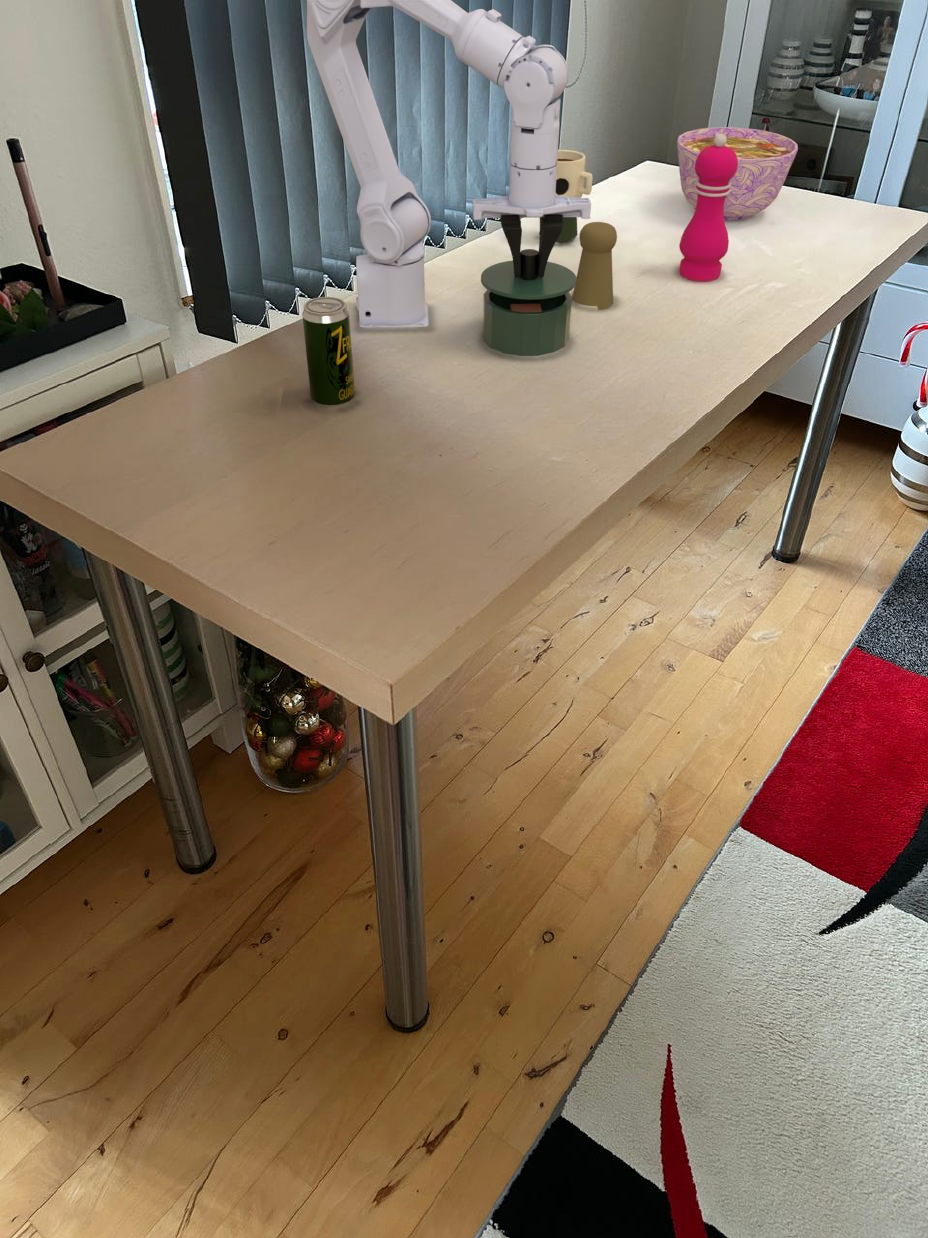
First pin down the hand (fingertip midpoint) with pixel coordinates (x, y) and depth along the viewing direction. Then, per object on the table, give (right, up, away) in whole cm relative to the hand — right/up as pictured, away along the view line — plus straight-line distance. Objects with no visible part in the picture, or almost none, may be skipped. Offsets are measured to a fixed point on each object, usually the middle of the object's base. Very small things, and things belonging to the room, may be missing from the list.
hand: (528, 274), depth 130 cm
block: (0, -7, +6) cm, 9 cm away
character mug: (+7, +18, +36) cm, 41 cm away
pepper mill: (+28, +8, +25) cm, 38 cm away
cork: (+10, +1, +16) cm, 19 cm away
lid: (0, -1, 0) cm, 1 cm away
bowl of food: (+38, +27, +47) cm, 65 cm away
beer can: (-24, -18, -7) cm, 31 cm away
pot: (0, -7, +6) cm, 9 cm away
